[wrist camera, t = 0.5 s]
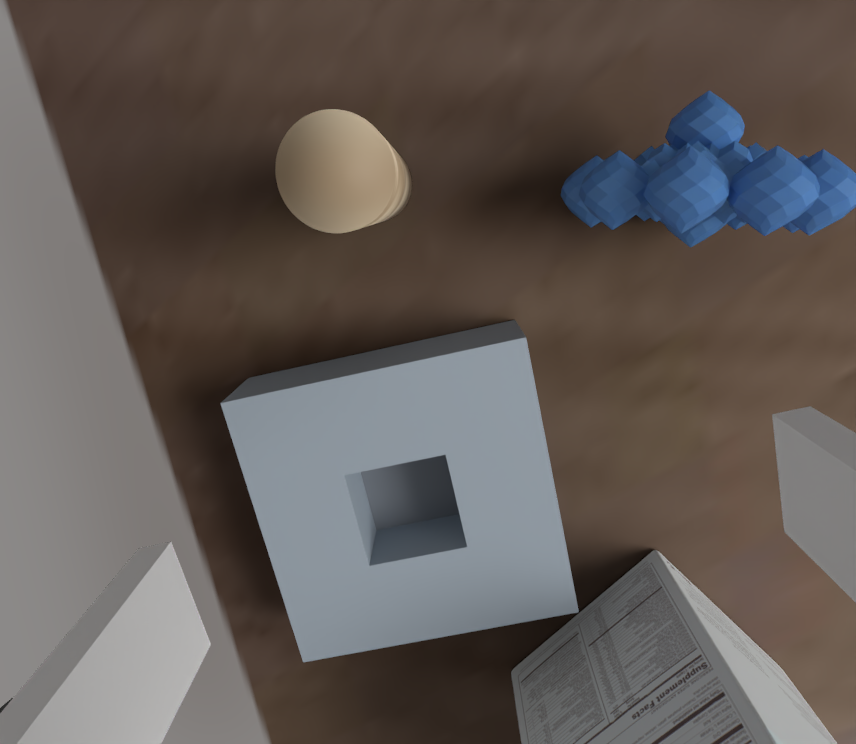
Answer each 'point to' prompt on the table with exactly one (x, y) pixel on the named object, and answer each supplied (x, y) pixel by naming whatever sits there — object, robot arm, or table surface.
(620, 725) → the supplement box
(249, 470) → the socket block
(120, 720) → the robot arm
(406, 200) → the peg
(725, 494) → the table surface
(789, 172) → the grapes
